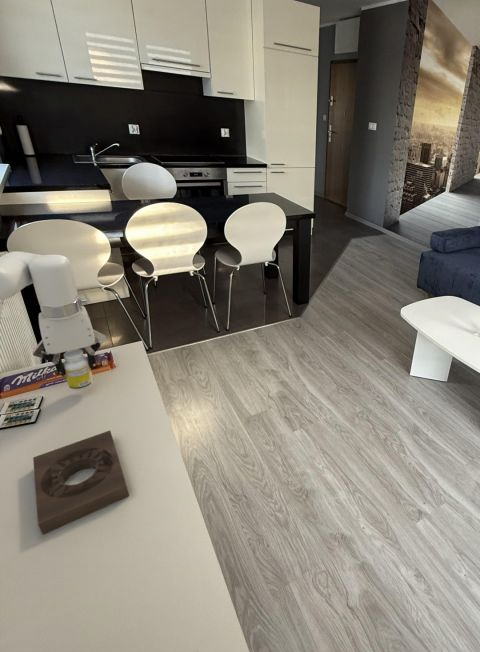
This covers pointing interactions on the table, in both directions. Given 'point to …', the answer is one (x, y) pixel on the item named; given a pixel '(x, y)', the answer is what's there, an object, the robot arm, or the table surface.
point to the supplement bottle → (77, 370)
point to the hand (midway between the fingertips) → (77, 369)
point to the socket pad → (83, 498)
